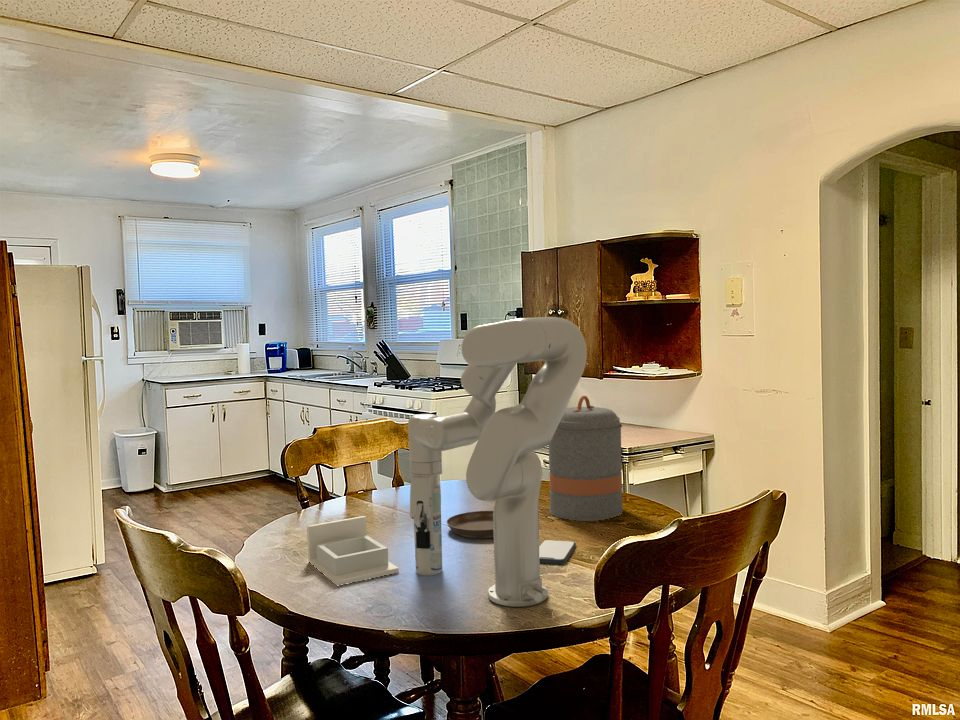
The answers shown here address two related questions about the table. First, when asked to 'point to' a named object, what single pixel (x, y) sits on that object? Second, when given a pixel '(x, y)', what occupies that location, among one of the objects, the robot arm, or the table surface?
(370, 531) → the table surface
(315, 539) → the white open box
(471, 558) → the table surface
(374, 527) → the table surface
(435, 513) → the spray can
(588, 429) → the storage container
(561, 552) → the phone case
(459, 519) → the plant saucer
